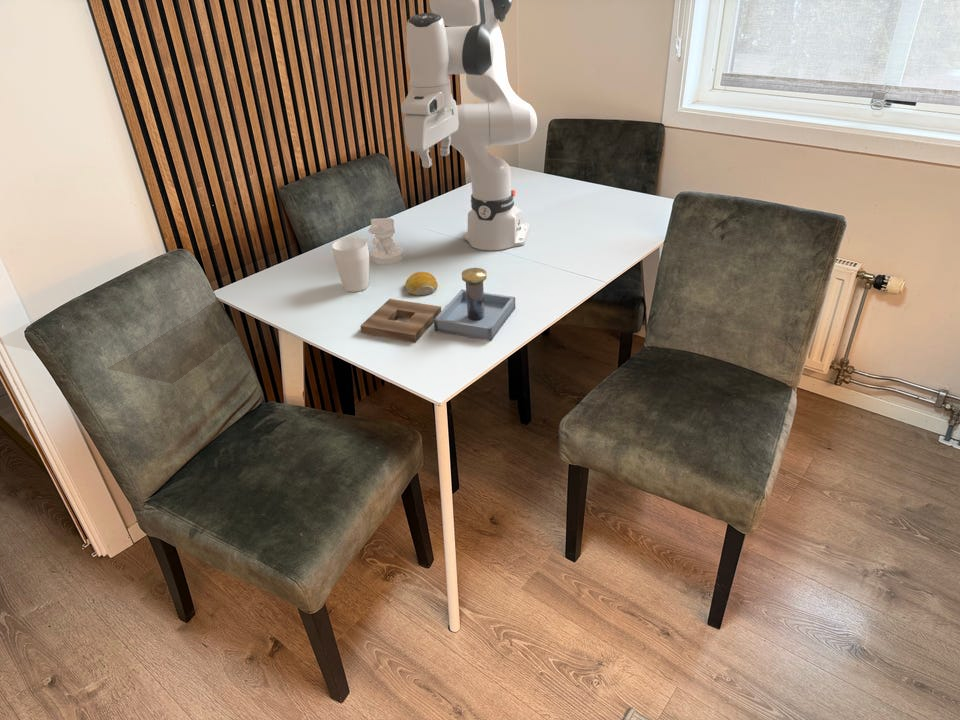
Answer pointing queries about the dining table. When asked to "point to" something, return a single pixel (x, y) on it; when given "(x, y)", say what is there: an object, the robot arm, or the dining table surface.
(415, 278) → the bread roll
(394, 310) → the socket block
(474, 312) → the pin
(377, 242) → the character figurine
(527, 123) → the robot arm
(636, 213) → the dining table surface
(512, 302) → the tray
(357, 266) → the cup
